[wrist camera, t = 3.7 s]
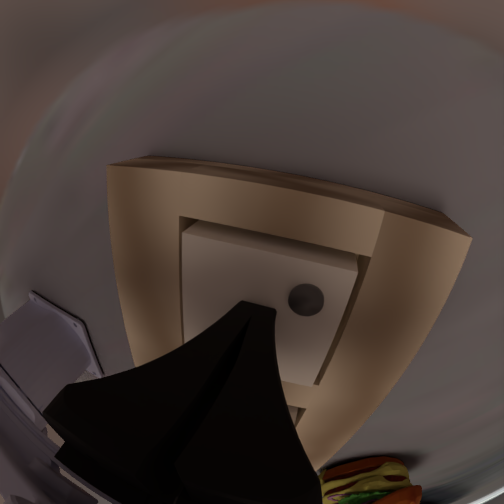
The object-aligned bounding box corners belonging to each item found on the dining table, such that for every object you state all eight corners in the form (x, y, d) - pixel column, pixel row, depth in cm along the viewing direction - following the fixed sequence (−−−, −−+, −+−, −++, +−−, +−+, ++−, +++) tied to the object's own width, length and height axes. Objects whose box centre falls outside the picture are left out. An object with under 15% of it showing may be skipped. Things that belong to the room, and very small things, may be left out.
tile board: (176, 432, 25) (165, 452, 22) (147, 155, 12) (106, 165, 10) (298, 467, 22) (293, 490, 19) (443, 213, 10) (472, 237, 7)
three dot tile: (205, 320, 14) (183, 354, 12) (210, 212, 11) (179, 234, 9) (316, 349, 13) (311, 390, 11) (352, 242, 10) (358, 275, 8)
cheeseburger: (314, 454, 20) (324, 543, 11) (417, 426, 19) (445, 503, 10) (315, 483, 23) (321, 547, 14) (396, 462, 22) (413, 522, 13)
